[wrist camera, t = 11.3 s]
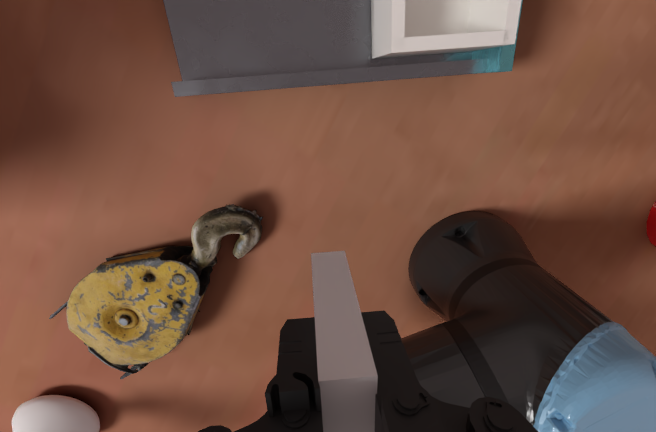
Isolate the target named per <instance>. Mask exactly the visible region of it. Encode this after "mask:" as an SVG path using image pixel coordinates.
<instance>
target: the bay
mask: <svg viewBox="0 0 656 432" xmlns="http://www.w3.org/2000/svg"><path fill="white" fill-rule="evenodd" d="M163 1H164V5H165V10H166V14H167V18H168V22H169V26H170V30H171V35H172V39H173V43H174V47H175V51H176V56H177V60H178V64H179V68H180V72H181V76H182V81H180V82H171V83H172V87H173V91H174V95H175V97H178V96H191V95H204V94H217V93H230V92H242V91H255V90H268V89H281V88H294V87H307V86H320V85H333V84H346V83H358V82H371V81H384V80H397V79H410V78H423V77H436V76H449V75H462V74H474V73H488V72H506V71H512V67H513V60H514V54H515V47H516V41H517V35H518V28H519V22H520V15H521V9H522V2H523V0H522V1H521V7H520V14H519V20H518V27H517V33H516V40H515V44H512V45H506V46H500V47H494V48H488V49H482V50H476V51H470V52H457V53H444V54H430V55H417V56H403V57H389V58H376V59H372V32H371V0H163Z"/></svg>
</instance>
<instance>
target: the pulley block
mask: <svg viewBox="0 0 656 432" xmlns="http://www.w3.org/2000/svg"><path fill="white" fill-rule="evenodd" d="M262 218H263V217H259V216H258V215H257V214H256V210H253V211H250V210H247V209H244V208H242V207H241V206H235V205H234V204H232V205H227V206H225V207H221V208H218V209H214V210H212V211H209V212H207V213H206V214H204V215H203V216H201V217H200V218H199V219H198V220H197V221H196V222H195V224H194V225H193V227H192V232H191V240H192V243H193V247H190V246H167V247H161V248H156V249H151V250H146V251H141V252H136V253H131V254H126V255H121V256H116V257H111V258H106V260H107V262H104V263H102V264H101V265H99V266H98V267H97V268H96V269H95V270H94V271H93V272H91V273H90V274H89V275H87V276H86V277H85V278H83V279H82V280H81V281H80V282H79V283H78V284H77V285H76V286H75V288H74V289H73V291H72V293H71V295H70V298H69V300H68V301H67V302H66V303H65V304H64V305H63V306H61V307H60V308H59V309H58V310H57V311H56V312H55V313H54V314H52V315H51V316H50V318H49V319H51V318H53V317H54V316H55V315H57V314H58V313H59V312H60V311H61V310H62V309H63V308H65V307H66V306H67V323H68V327H69V330H70V331H71V332H73V333H74V334H75V335H76V336H77V337H79V338H80V339H81V340H82V341H83V342H84V344H85V345H87V346H88V350H89V352H90V353H92V354H94V355H95V356H96V357H98V358H99V359H100V360H101V361H102V362H104V363H105V364H106V365H108V366H111V367H113V368H115V369H118V370H120V371H123V372H126V373H125V374H124V375H123V376H122V377H121V378H120V379H123V378H125V377H126V376H128V375H130V374H133V373H137V372H138V371H139V370H141V369H142V368H144V367H145V366H146V365H147V364H148V362H149V363H150V362H151V361H153V360H156V359H159V358H161V357H163V356H164V355H166V354H167V353H169V352H170V351H171V350H172V349H174V348H175V347H176V346H177V345H178V344H179V343H180V342H181V341H182V340H183V338H184V337H185V336H186V335H187V334H188V335H189V333H190V332H191V329H192V325H193V321H194V318H195V316H196V313H197V312H198V311H199V306H200V303H201V301H202V299H203V296H204V294H205V292H206V289H207V287H208V284H209V282H210V273H211V272H212V270H213V269H212V267H213V266H214V265H215V264H216V263H217V258H216V255H217V253H218V251H219V249H220V247H221V244H220V242H221V238H222V237H223V236H225V235H227V234H233V233H235V234H240V237H239V238H238V240H237V241H236V244H235V246H234V250H233V255H234V256H235V257H236V258H237V259H238V258H241V257H243V256H244V255H245V254H246V253H248V252H249V251H250V250H251V249H252V248H253V247H254V246H255V245H256V244H257V243H258V242H259V240H260V238H261V233H262V225H261V220H262ZM128 365H134V366H132V367H131V369H128ZM136 369H138V370H136Z"/></svg>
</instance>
